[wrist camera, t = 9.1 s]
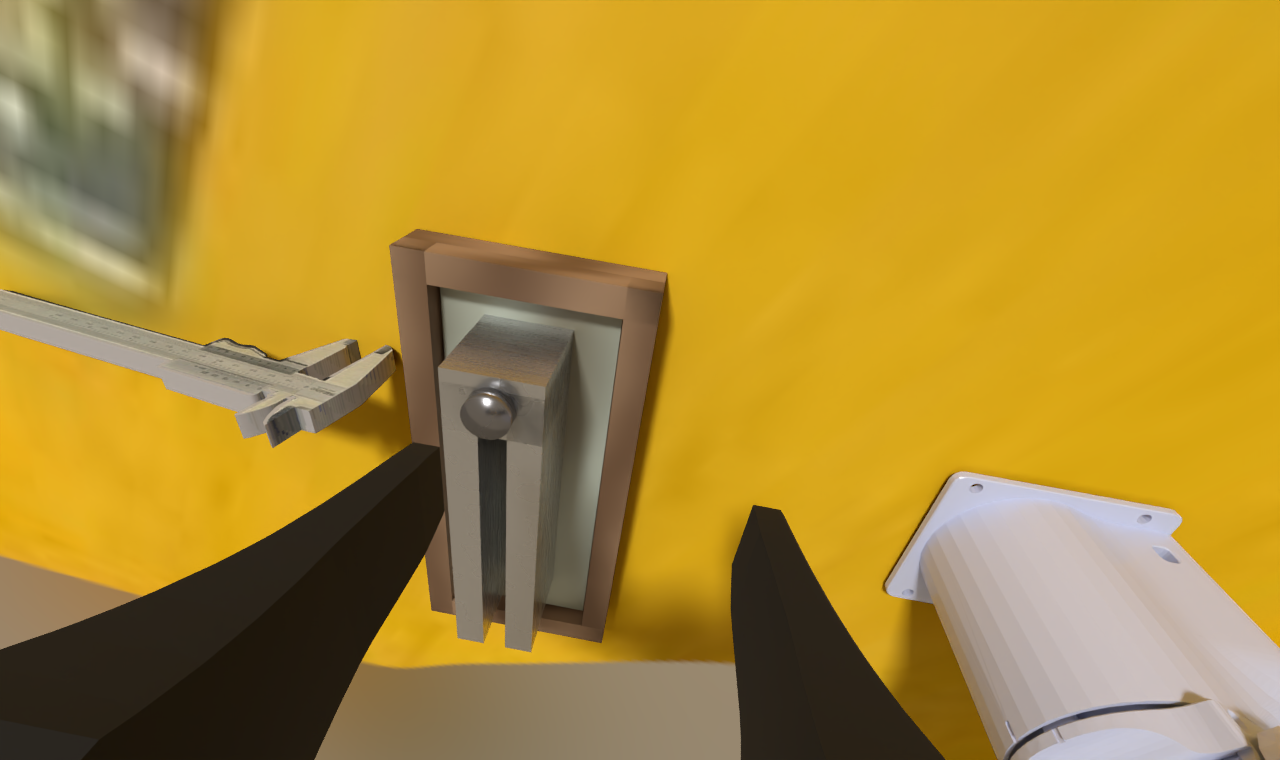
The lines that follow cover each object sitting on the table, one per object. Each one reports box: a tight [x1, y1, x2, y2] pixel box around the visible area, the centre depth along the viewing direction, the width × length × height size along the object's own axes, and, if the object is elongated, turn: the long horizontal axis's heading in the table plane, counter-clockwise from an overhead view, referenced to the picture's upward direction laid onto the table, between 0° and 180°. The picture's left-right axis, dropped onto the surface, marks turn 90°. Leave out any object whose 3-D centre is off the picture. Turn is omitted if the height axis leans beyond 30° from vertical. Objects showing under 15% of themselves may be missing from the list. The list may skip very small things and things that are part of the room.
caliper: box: [0, 289, 396, 448], centre depth 21 cm, size 20×1×6 cm, turn 84°
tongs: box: [438, 314, 574, 652], centre depth 22 cm, size 3×14×5 cm, turn 172°
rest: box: [389, 229, 667, 643], centre depth 24 cm, size 9×20×2 cm, turn 172°
